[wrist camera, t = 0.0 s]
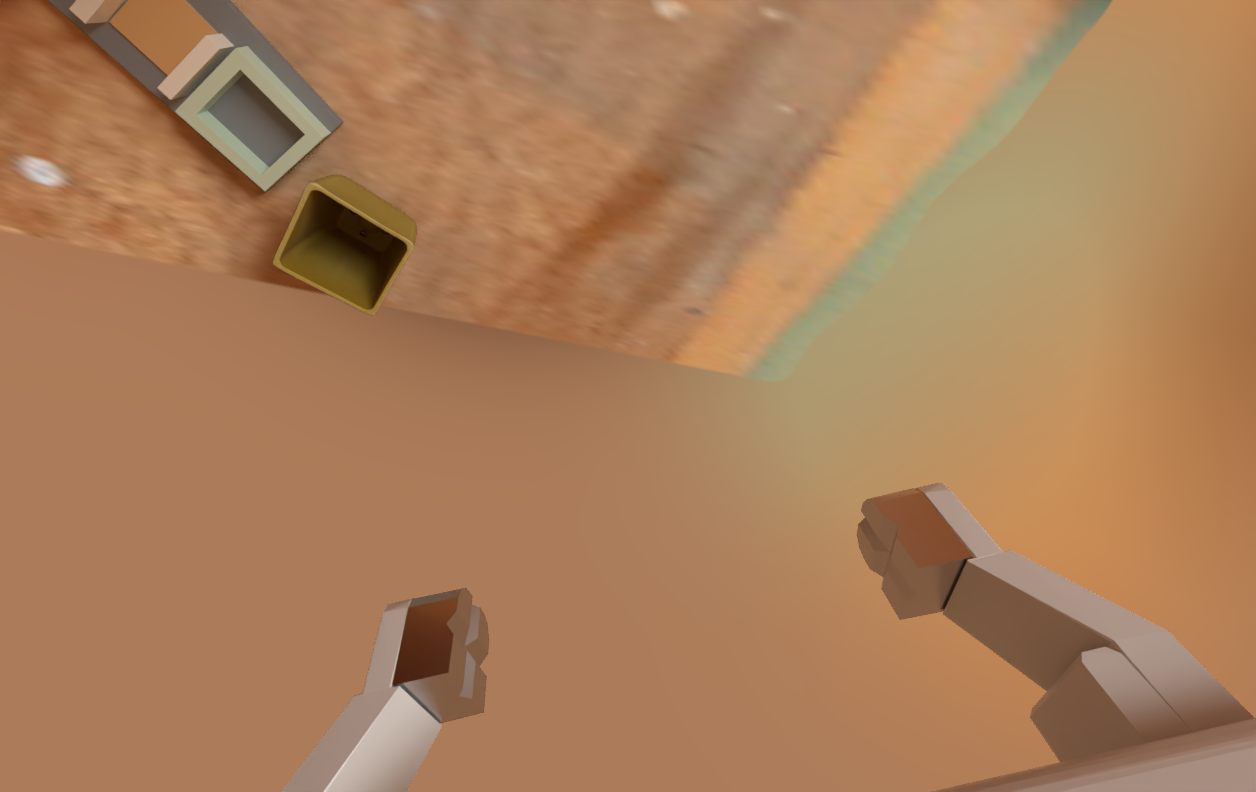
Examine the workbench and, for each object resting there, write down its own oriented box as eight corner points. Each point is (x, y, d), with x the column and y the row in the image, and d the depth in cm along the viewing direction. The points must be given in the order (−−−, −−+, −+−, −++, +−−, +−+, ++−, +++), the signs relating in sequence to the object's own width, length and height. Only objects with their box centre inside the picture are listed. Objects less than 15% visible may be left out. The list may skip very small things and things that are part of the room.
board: (-33, -81, 35) (-46, -83, 34) (48, -194, 33) (36, -199, 32) (269, 189, 48) (265, 192, 47) (343, 121, 46) (340, 124, 45)
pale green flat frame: (187, 107, 43) (174, 111, 41) (247, 46, 41) (235, 47, 39) (273, 184, 47) (264, 191, 45) (330, 132, 45) (323, 137, 44)
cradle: (92, 8, 38) (68, 8, 36) (140, -50, 37) (118, -52, 35) (187, 95, 42) (170, 100, 40) (234, 46, 41) (219, 48, 39)
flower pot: (305, 227, 51) (269, 265, 44) (342, 152, 47) (308, 180, 40) (393, 276, 55) (372, 318, 48) (432, 210, 51) (416, 245, 44)
